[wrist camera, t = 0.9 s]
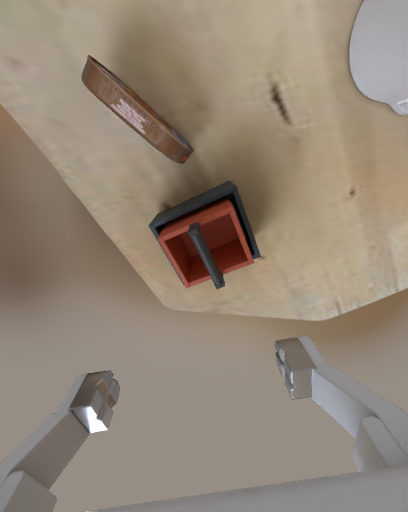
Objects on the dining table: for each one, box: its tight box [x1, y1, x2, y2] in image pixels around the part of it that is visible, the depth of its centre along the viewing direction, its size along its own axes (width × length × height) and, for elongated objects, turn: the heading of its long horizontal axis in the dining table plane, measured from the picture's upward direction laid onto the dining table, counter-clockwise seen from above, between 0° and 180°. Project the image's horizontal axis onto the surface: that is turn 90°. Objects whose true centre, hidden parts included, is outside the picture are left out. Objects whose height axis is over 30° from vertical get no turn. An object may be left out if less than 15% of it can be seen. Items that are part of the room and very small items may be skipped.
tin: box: [82, 55, 194, 163], centre depth 26 cm, size 15×3×8 cm, turn 50°
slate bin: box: [149, 181, 261, 285], centre depth 34 cm, size 14×12×7 cm
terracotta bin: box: [157, 196, 254, 289], centre depth 31 cm, size 11×9×12 cm
